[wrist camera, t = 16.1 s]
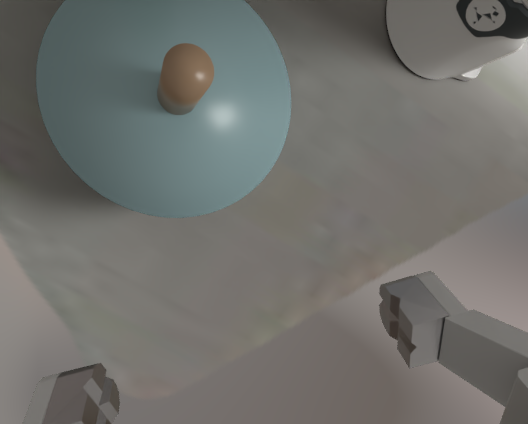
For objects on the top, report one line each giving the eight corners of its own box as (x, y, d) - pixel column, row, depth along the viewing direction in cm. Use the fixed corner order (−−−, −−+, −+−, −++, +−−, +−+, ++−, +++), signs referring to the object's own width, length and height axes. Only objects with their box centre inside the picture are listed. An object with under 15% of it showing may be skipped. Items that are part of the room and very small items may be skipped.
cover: (169, -83, 29) (180, -175, 22) (326, 106, 35) (378, 85, 27) (-28, 86, 26) (-96, 46, 18) (182, 264, 32) (196, 289, 24)
